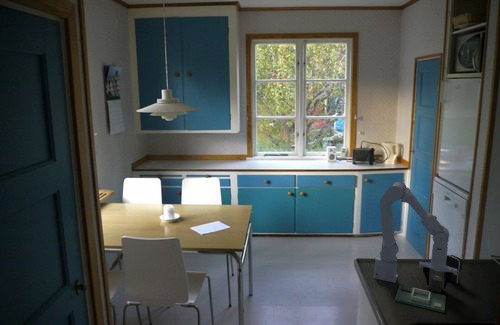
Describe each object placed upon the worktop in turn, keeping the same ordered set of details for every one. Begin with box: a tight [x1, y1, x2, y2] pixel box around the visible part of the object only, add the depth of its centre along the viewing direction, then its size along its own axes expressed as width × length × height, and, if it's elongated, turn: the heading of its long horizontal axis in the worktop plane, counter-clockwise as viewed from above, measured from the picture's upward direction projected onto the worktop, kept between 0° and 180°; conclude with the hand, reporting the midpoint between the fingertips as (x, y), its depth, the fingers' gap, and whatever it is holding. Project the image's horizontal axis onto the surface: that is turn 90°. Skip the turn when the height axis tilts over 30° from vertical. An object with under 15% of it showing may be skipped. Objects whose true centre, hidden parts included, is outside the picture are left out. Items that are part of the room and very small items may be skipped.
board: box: [394, 285, 447, 314], centre depth 161 cm, size 18×12×2 cm, turn 62°
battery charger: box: [443, 254, 464, 284], centre depth 176 cm, size 7×4×11 cm, turn 23°
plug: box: [430, 275, 443, 293], centre depth 169 cm, size 4×5×5 cm
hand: (436, 286), depth 169 cm, fingers open, 6 cm apart
